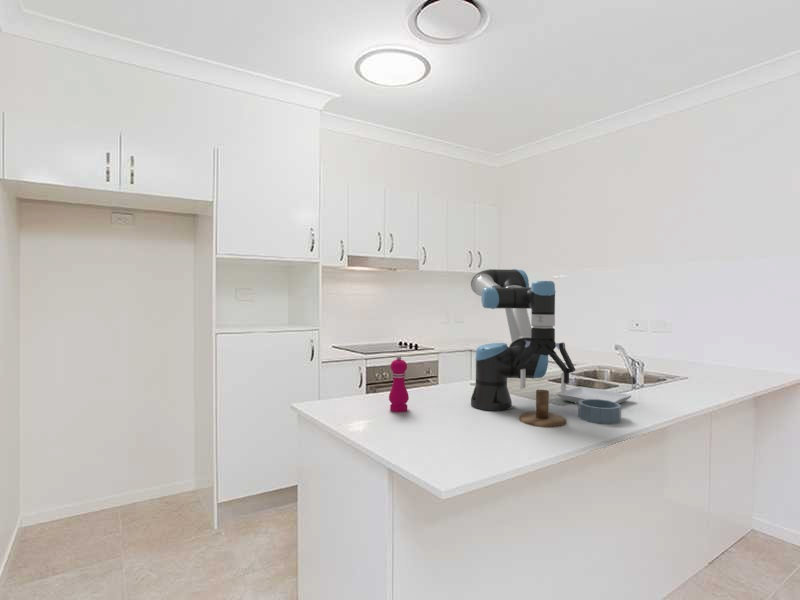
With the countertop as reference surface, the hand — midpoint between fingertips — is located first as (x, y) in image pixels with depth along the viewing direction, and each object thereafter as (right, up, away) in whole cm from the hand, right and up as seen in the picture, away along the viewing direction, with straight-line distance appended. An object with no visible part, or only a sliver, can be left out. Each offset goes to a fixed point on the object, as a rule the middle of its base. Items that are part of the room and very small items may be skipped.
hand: (542, 390), depth 152 cm
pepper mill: (-48, -10, +14) cm, 51 cm away
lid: (0, -10, +1) cm, 10 cm away
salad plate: (+29, -10, +27) cm, 40 cm away
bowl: (+20, -10, +3) cm, 23 cm away
